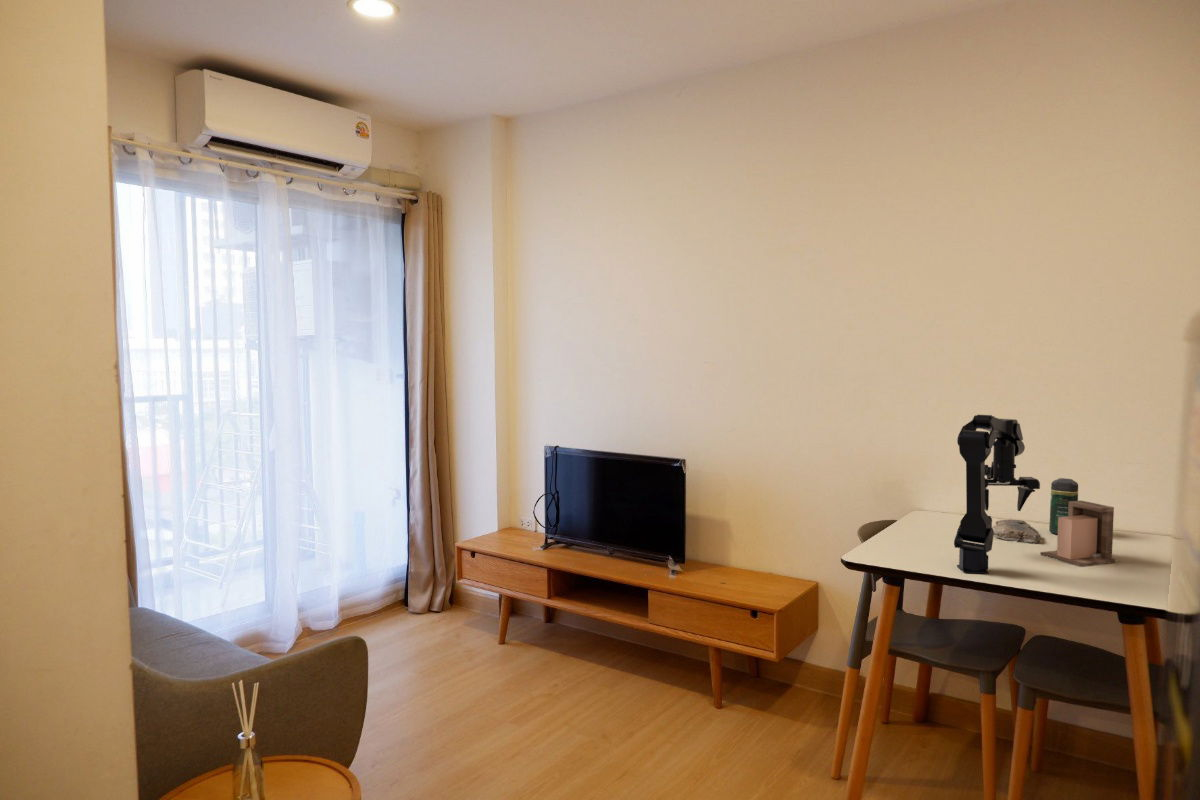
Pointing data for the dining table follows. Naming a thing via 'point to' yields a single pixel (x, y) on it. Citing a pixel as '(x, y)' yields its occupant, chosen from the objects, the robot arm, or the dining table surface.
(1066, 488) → the coffee jar
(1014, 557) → the dining table surface
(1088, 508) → the walnut shelf
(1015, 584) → the dining table surface
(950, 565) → the dining table surface
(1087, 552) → the terracotta slab
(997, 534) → the jagged gray stone
